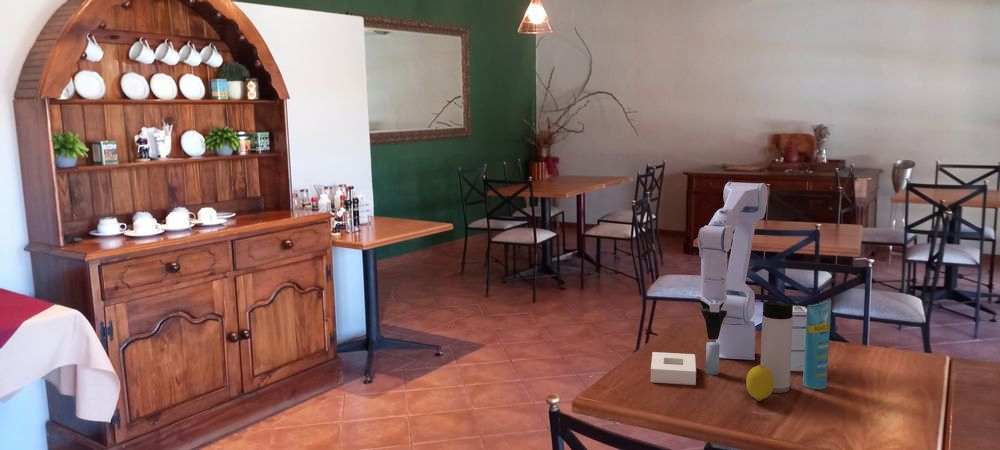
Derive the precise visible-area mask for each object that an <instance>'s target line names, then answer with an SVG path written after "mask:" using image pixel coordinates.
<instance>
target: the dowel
mask: <svg viewBox="0 0 1000 450" xmlns="http://www.w3.org/2000/svg"><path fill="white" fill-rule="evenodd" d="M705 347H706V348H705V350H706V351H705V352H706V353H705V373H706V374H708V375H712V376H713V375H714V376H715V375H716V376H717V375H719V374H720V358H719V352H720V344H719V343H717V342H716V341H708V342H706V346H705Z"/></svg>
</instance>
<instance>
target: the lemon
mask: <svg viewBox="0 0 1000 450" xmlns="http://www.w3.org/2000/svg"><path fill="white" fill-rule="evenodd" d="M745 379H746V380H745V381H746V382H745V385H746V389H747V392H748V393H749V395H750V396H751V397H753V398H754V399H756V400H757V401H758V402H761V401H762V400H763V399H764V400H765V399H766V398H769V397H770V395H771V394H773V392H772V391H773V387H774V381H773V376H772V373H771V372H770V371H769V370H768V369H767V368H766V367H763V366H762V365H761V364H758V365H756V366H753V367H752V368H751V369H750V370H748V373H747V375H746V378H745Z"/></svg>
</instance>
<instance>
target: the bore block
mask: <svg viewBox="0 0 1000 450" xmlns="http://www.w3.org/2000/svg"><path fill="white" fill-rule="evenodd" d="M651 354H652V355H651V362H650V363H651V364H650V383H655V384H656V383H659V384H672V385H673V384H675V385H687V386H688V385H691V386H696V385H697V383H696V381H697V380H696V378H697V365H696V355H695V353H694V354H693V353H677V352H675V353H673V352H656V351H652V353H651Z"/></svg>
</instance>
